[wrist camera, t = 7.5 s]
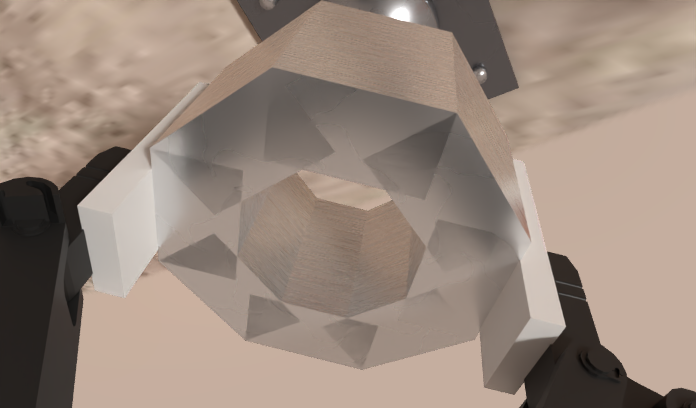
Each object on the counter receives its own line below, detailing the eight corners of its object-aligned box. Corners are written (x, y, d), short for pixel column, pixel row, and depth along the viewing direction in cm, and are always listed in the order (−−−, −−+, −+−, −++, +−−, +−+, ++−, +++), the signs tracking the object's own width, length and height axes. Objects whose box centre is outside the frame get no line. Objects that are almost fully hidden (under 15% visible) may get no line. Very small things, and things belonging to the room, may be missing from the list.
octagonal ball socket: (220, 220, 19) (163, 319, 15) (229, -23, 13) (141, 35, 9) (444, 275, 19) (445, 390, 15) (544, 55, 13) (588, 145, 9)
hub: (335, 153, 38) (314, 220, 31) (229, -20, 31) (175, 21, 24) (517, 83, 32) (536, 147, 26) (437, -147, 25) (436, -136, 19)
